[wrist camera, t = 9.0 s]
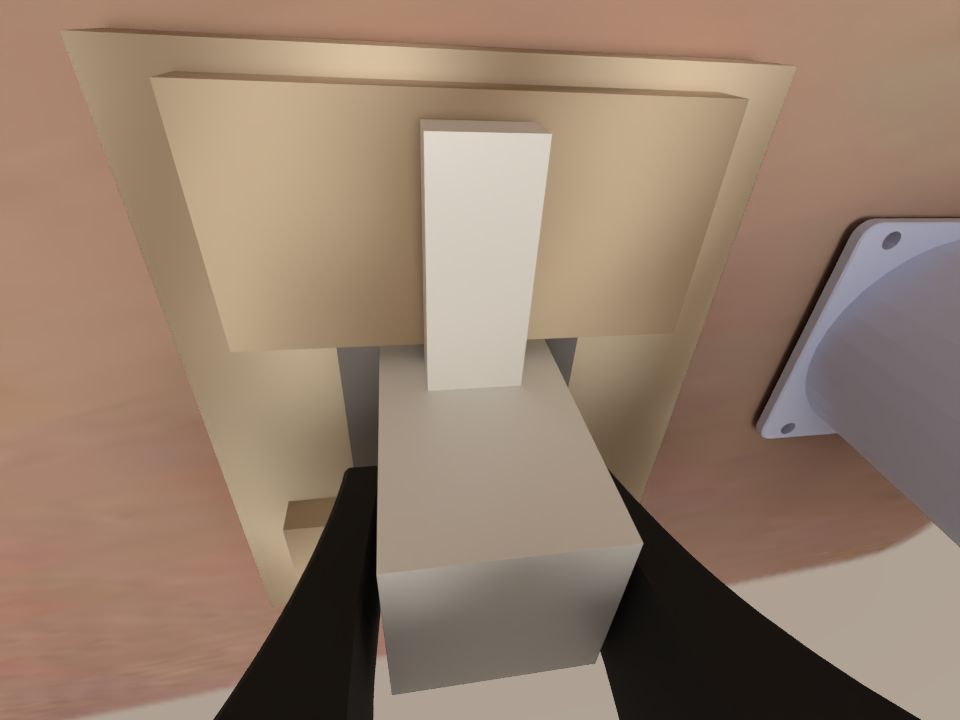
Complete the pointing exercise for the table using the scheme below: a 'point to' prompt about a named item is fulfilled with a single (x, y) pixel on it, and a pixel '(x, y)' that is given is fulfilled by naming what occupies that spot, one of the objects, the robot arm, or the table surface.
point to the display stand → (410, 233)
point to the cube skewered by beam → (488, 442)
